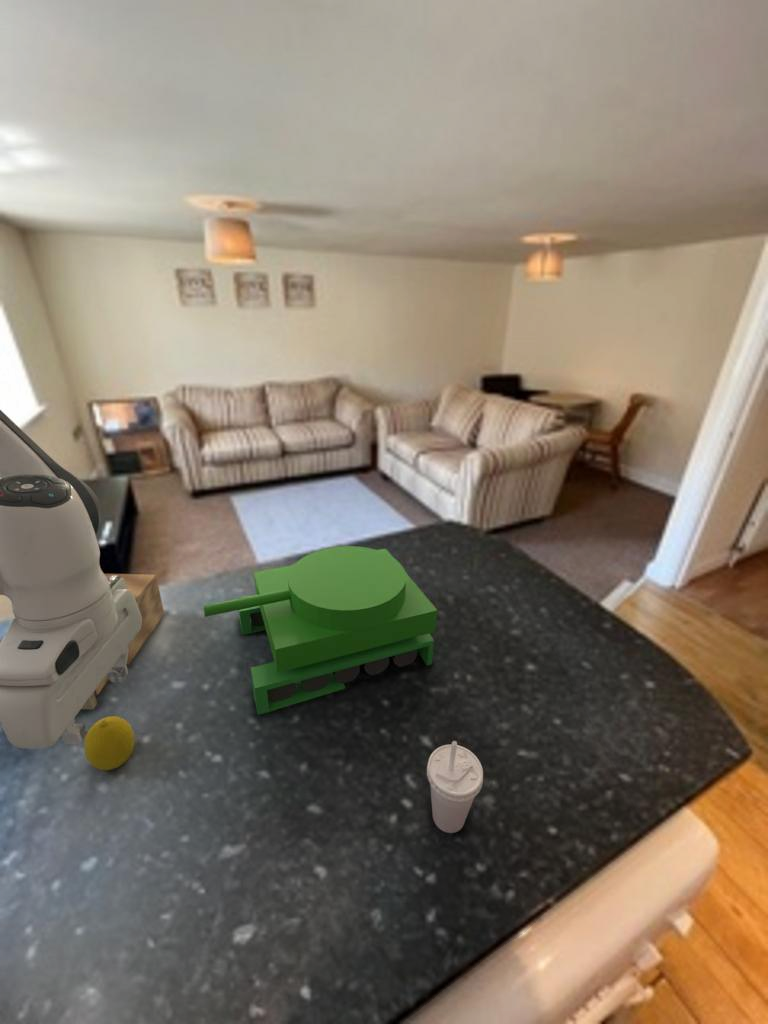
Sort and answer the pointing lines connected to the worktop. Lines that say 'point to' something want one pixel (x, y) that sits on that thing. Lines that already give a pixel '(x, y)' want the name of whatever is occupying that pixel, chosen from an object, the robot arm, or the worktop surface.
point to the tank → (332, 622)
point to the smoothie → (453, 785)
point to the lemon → (109, 743)
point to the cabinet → (143, 606)
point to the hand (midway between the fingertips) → (99, 706)
